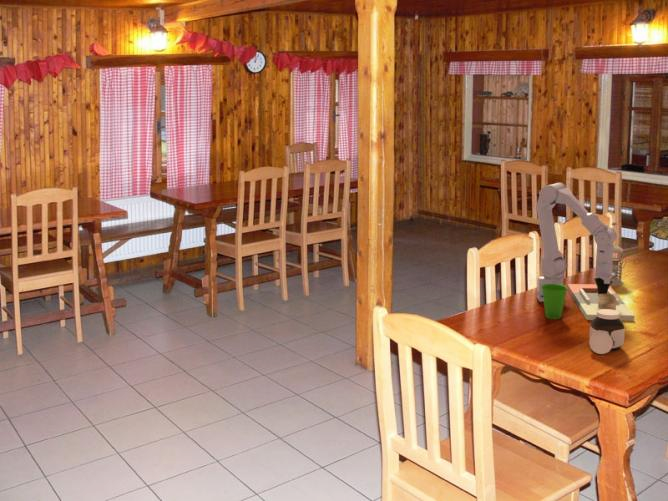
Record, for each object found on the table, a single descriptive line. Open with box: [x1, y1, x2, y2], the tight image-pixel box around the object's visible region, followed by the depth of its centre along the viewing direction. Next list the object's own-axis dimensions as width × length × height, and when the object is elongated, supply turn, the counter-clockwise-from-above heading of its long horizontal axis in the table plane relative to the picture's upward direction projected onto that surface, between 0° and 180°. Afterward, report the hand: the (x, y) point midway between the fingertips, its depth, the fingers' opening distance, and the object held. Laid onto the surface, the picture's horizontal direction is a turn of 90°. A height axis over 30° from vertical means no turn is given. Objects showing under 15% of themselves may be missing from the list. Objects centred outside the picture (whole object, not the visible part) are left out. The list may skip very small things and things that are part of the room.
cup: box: [541, 284, 568, 320], centre depth 293 cm, size 9×9×11 cm
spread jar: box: [588, 309, 626, 355], centre depth 259 cm, size 12×11×12 cm
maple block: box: [598, 294, 617, 310], centre depth 295 cm, size 5×5×5 cm
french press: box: [610, 221, 627, 286], centre depth 338 cm, size 10×12×25 cm
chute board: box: [566, 283, 636, 322], centre depth 310 cm, size 16×42×4 cm, turn 174°
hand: (601, 298), depth 303 cm, fingers closed
